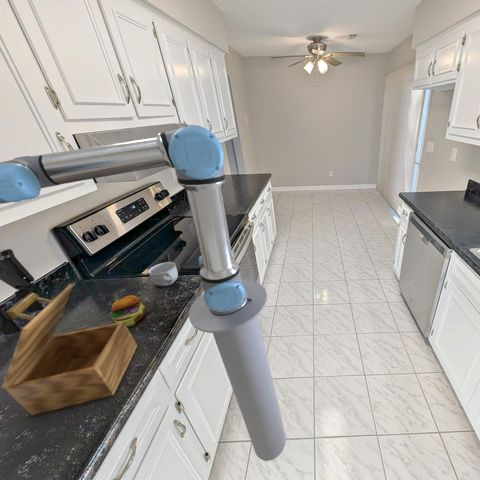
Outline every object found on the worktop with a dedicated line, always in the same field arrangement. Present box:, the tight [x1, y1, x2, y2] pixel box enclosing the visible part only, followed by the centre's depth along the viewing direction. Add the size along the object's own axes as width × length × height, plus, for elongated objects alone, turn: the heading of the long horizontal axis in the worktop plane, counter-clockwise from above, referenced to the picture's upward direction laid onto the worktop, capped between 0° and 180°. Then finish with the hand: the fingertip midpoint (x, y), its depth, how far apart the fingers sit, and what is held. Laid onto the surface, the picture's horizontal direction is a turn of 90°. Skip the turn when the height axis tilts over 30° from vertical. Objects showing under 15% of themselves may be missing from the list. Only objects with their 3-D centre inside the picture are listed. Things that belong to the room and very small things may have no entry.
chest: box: [4, 321, 138, 416], centre depth 72 cm, size 19×17×11 cm
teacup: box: [147, 261, 179, 287], centre depth 113 cm, size 14×11×8 cm
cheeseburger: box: [109, 294, 146, 328], centre depth 94 cm, size 10×11×10 cm
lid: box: [1, 283, 74, 389], centre depth 64 cm, size 20×17×6 cm
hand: (25, 320), depth 63 cm, fingers closed on lid, 7 cm apart
